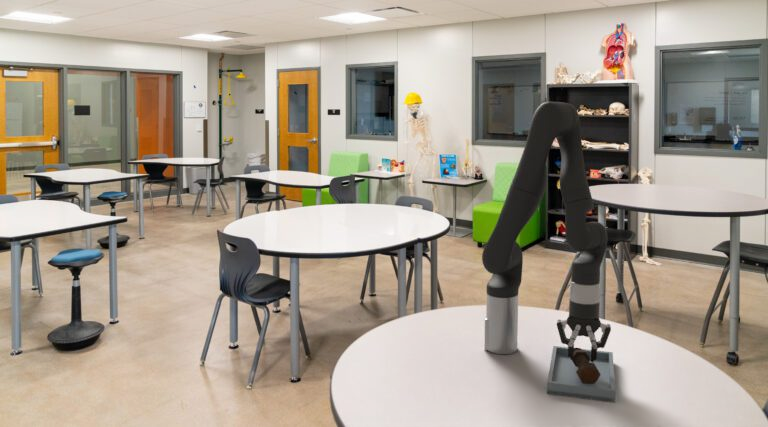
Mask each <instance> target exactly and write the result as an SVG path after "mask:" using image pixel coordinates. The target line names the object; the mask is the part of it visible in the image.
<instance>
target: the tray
mask: <svg viewBox="0 0 768 427" xmlns="http://www.w3.org/2000/svg"><path fill="white" fill-rule="evenodd" d="M581 349H582V350H585V351H586V353H587V354H588V356H589V358H590V363H594V364H595V366H596V367H597V369H598V371H599V372H600V374H601V375H600V377H599V379H598V380H597V381H596V383H595V384H584V383H582V382H581V380H580V378H579V377H578V375H577V373H576V371H577V370H578V367H576V366H575V365H574V363H573V361H572V360H571V358H570V357H568V346H567V347H565V346H558V345H557V346H556V345H553V347H552V353H551V357H550V358H551V359H550V364H549V369H548V376H547V377H548V378H547V382H546V394H547V395H556V396H562V397H563V396H564V397H570V398H579V399H587V400H594V401H602V402H608V403H609V402H610V403H615V401H616V383H615V382H616V380H615V368H614V367H615V366H614V356H613V355H614V354H613V353H614V352H612V351H604V350H597V359H596V360H594V362H591V349H586V348H585V349H584V348H581Z"/></svg>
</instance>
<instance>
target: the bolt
mask: <svg viewBox="0 0 768 427" xmlns="http://www.w3.org/2000/svg"><path fill="white" fill-rule="evenodd" d="M582 349H583V348H580V347H574V356H573V360H572V361H573V363H574V365H575V366H576V367H578V370H577V371H576V373H577V375H578V377H579V378H580V380H581V382H582V383H584V384H595V383H596V381H597V380H598V379H599V377H600V375H601V374H600V372H599V371H598V369H597V367H596V366H595V364H594V363H590V358H589V356H588V354H587V353H586V351H585V350H582Z"/></svg>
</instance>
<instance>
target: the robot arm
mask: <svg viewBox="0 0 768 427" xmlns="http://www.w3.org/2000/svg"><path fill="white" fill-rule="evenodd" d="M555 140H556V141H557V144H558V146H559V151H560V156H561V160H560V161H561V162H560V171H559V189H560V190H559V191H560V194H561V198H562V201H563V205H564V209H565V214H564V215H565V217H564V218H565V220H564V222H565V223H564V233H565V234H564V235H565V236H564V237H565V240H566V242H567V244H568V246H569V247H570V249H571V250H573V251H574V252H578V253H581V254H580V255H579V256H578V257H577V258H575V259H574V260H573V261H572V264H571V272H570V277H571V278H570V286H569V303H568V304H569V306H568V317H567V318H566V319H564V320H561V319H557V320H556V328H557V330H558V335H559V338H560V342H561V344H563V345H567V347H568V357H570V358H571V360H573V356H574V348H575V341H576V340H577V337H582V336H583V337H587V338H589V341H590V344H591V346H590V350H591V362H594V360H596V359H597V351H598V349H599V348H601V349H604V348H605V346H606V344H607V341H608V339H609V336H610V334H611V330H612V326H611V324H609V323H607V324H606V323H602V322H601V319H600V304H601V303H600V301H601V287H600V285H601V284H600V282H601V281H600V279H601V265H602V263H603V260H604V257H605V254H606V250H607V245H608V240H609V239H608V232H607V228H606V227H605V225H603V224H602V223H600V222H599V221H590V222H587V214H588V213H590V212H591V211H592V210H594V202H593V197H592V193H591V189H590V186H589V182H588V178H587V172H586V169H585V160H584V154H583V152H584V151H583V144H582V143H583V142H582V132H581V121H580V116H579V112H578V110H577V108H576V107H575V106H574V105H573V104H571V103H568V102H564V101H563V102H560V101H545V102H543V103H540V105H539V106H538V107H537V108H536V110H535V112H534V114H533V116H532V119H531V123H530V126H529V130H528V134H527V138H526V142H525V145H524V149H523V151H522V154H521V157H520V160H519V162H518V166H517V168H516V170H515V173H514V176H513V178H512V180H511V183H510V186H509V189H508V191H507V194H506V197H505V200H504V203H503V204H502V207H501V211H500V213H499V214H498V219H497V221H496V224H495V226H494V228H493V230H492V233H491V234H490V236H489V238H488V240H487V242H486V244H485V246H484V248H483V250H482V254H481V262H482V264H483V267H484V268H485V270H486V271H487V272H488V273H490V274H492V276H491V278H490V279H489V280H488V282H487V284H486V301H485V302H486V303H485V304H486V307H485V308H486V310H485V311H486V312H485V314H486V316H485V319H484V351H487V350H488V352H490V353H493V354H496V355H511V354H513V353H516V352H517V350H518V332H519V331H518V330H519V329H518V328H519V326H518V324H519V320H518V319H519V289H520V286H521V285H522V284H521V283H522V280H523V279H522V278H523V277H522V276H523V258H524V257H523V250H522V248H521V245H520V243H519V242H517V239H518V237H519V236H520V233H521V232H522V230H523V229H524V228H525V227H526V225H527V224H528V223H529V221H530V220H531V219H532V218H533V216H534V214H535V213H536V212H537V210H538V208H539V207H540V205H541V201H542V199H543V197H544V194H545V192H546V189H547V186H548V185H547V184H548V172H547V163H548V162H547V161H548V156H549V153H550V150H551V149H552V146H553V144H554V142H555ZM567 325H568V327H569V328H570V330H571V334H570V336H569V338H568V337H567V334H566V331H565V329H566V326H567ZM599 329H601V333H602V335H601V337H600V340H597V338H596V334H595V333H596V332H597V331H598V330H599Z"/></svg>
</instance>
